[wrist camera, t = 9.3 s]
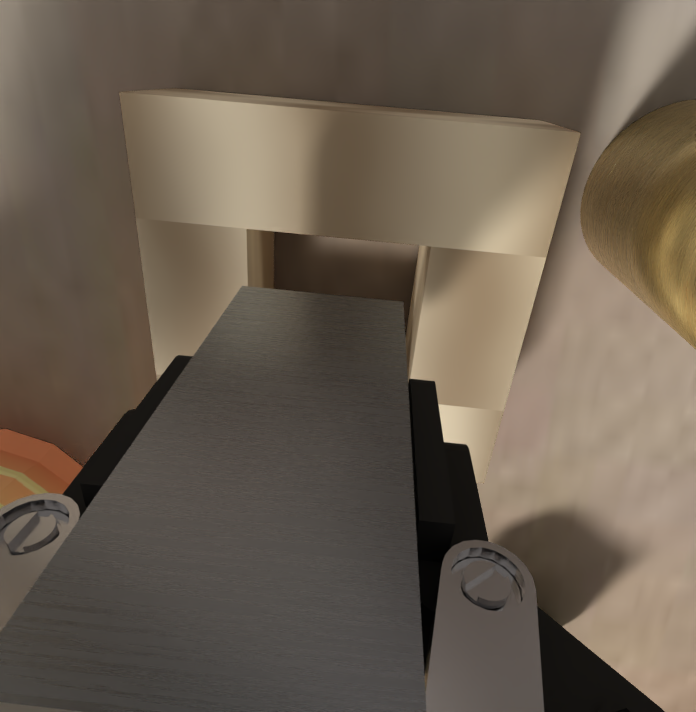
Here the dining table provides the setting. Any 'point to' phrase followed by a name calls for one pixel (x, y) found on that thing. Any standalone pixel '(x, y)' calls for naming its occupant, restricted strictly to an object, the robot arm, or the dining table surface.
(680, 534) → the dining table surface
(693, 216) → the round bit
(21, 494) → the potted cactus
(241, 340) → the square bit
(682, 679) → the dining table surface
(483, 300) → the socket block
